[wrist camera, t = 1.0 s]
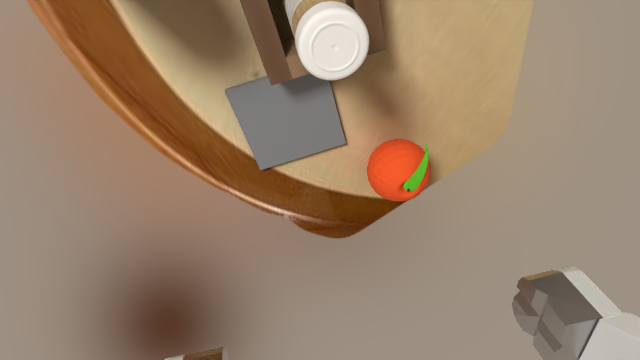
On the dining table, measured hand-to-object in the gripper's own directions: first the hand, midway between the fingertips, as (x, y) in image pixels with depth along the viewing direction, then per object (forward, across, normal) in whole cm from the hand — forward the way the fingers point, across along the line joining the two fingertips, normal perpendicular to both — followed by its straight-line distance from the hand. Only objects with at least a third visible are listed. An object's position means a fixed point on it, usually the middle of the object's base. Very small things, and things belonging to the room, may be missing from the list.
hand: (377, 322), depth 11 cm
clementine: (+32, -12, +16) cm, 38 cm away
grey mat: (+32, 0, +9) cm, 33 cm away
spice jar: (+32, -4, -2) cm, 32 cm away
